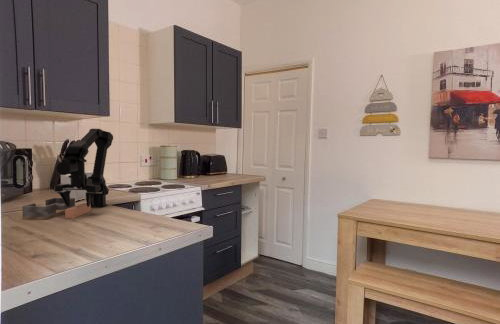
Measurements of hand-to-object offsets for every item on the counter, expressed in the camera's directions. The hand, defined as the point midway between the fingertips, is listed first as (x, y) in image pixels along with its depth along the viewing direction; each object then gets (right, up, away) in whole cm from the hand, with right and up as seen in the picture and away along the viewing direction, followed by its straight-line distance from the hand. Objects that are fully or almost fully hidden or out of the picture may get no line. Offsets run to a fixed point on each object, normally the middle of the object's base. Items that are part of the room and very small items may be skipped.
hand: (78, 206), depth 142 cm
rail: (0, -4, 0) cm, 4 cm away
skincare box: (-18, 0, +46) cm, 50 cm away
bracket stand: (-13, -3, +1) cm, 13 cm away
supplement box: (-20, -1, +31) cm, 37 cm away
